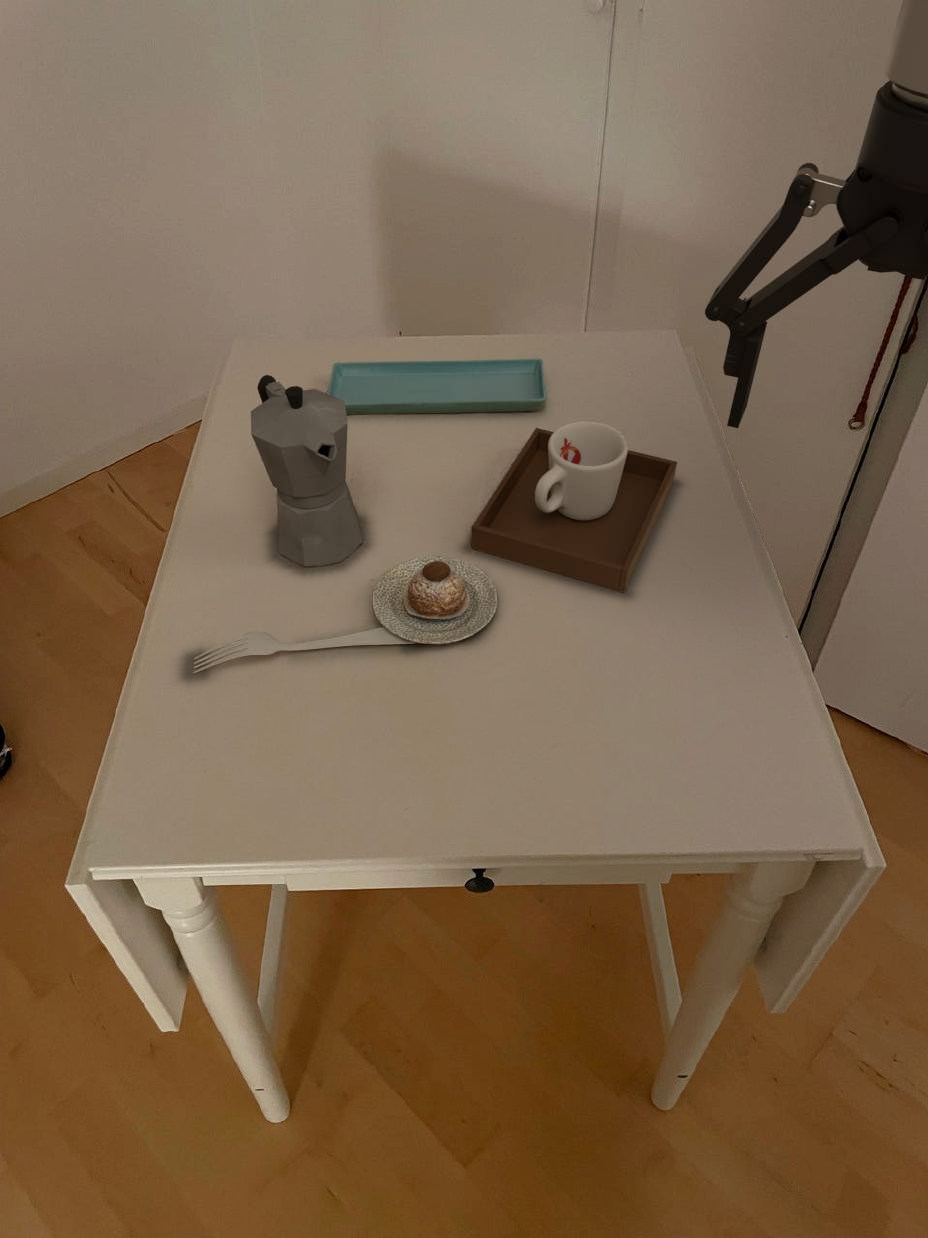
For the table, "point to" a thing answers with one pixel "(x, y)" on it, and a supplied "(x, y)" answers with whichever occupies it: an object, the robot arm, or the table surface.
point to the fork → (293, 644)
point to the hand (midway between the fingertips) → (838, 439)
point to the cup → (582, 470)
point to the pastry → (434, 600)
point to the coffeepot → (307, 472)
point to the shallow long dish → (439, 386)
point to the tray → (569, 544)
